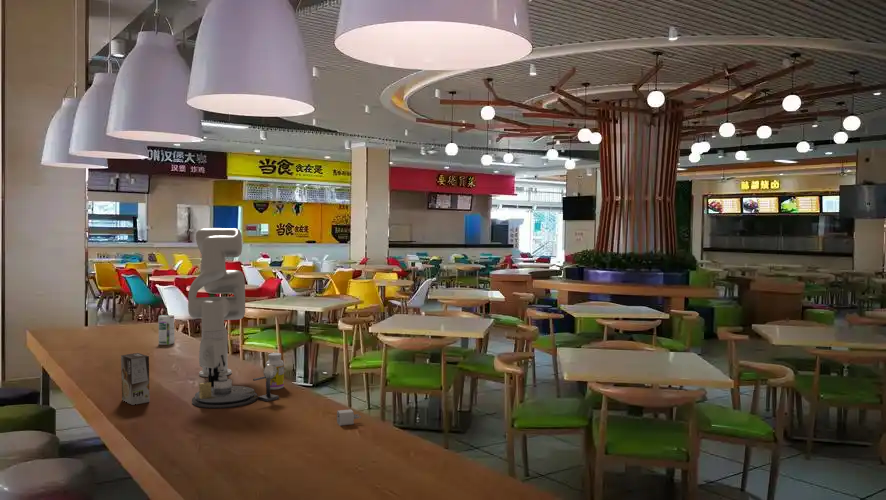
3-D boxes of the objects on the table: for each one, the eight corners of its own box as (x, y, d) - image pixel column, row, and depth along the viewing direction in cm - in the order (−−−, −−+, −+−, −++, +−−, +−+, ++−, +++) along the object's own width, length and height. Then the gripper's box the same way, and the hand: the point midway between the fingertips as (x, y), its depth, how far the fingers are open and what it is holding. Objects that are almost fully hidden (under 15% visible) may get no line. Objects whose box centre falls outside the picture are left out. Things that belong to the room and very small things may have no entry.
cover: (210, 392, 241) (210, 376, 241) (224, 389, 246) (224, 373, 246) (221, 395, 238) (221, 379, 237) (235, 391, 242) (235, 376, 242)
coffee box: (150, 402, 238) (150, 356, 237) (131, 405, 233) (131, 358, 232) (139, 397, 244) (138, 352, 243) (120, 400, 239) (120, 354, 238)
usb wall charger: (336, 422, 215) (337, 410, 214) (358, 420, 217) (358, 408, 217) (339, 426, 211) (340, 413, 211) (361, 424, 213) (361, 411, 213)
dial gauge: (249, 401, 239) (249, 366, 238) (269, 396, 246) (269, 361, 245) (258, 403, 236) (258, 367, 235) (278, 398, 243) (278, 363, 242)
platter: (183, 397, 239) (182, 379, 238) (231, 386, 255) (231, 369, 254) (217, 407, 227) (217, 388, 226) (266, 394, 243) (266, 377, 242)
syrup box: (158, 344, 345) (157, 316, 345) (164, 342, 351) (164, 314, 350) (168, 345, 344) (168, 316, 344) (175, 343, 350) (174, 314, 349)
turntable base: (178, 401, 238) (178, 398, 238) (232, 389, 256) (232, 386, 256) (217, 412, 225) (217, 409, 225) (270, 398, 243) (270, 395, 243)
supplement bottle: (261, 388, 257) (261, 354, 256) (274, 384, 263) (273, 351, 262) (275, 390, 254) (275, 356, 253) (287, 387, 260) (287, 353, 259)
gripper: (191, 334, 245) (192, 384, 246) (216, 338, 236) (217, 391, 237) (209, 331, 251) (210, 381, 252) (234, 335, 242) (235, 387, 243)
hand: (213, 385), depth 244 cm, fingers closed
